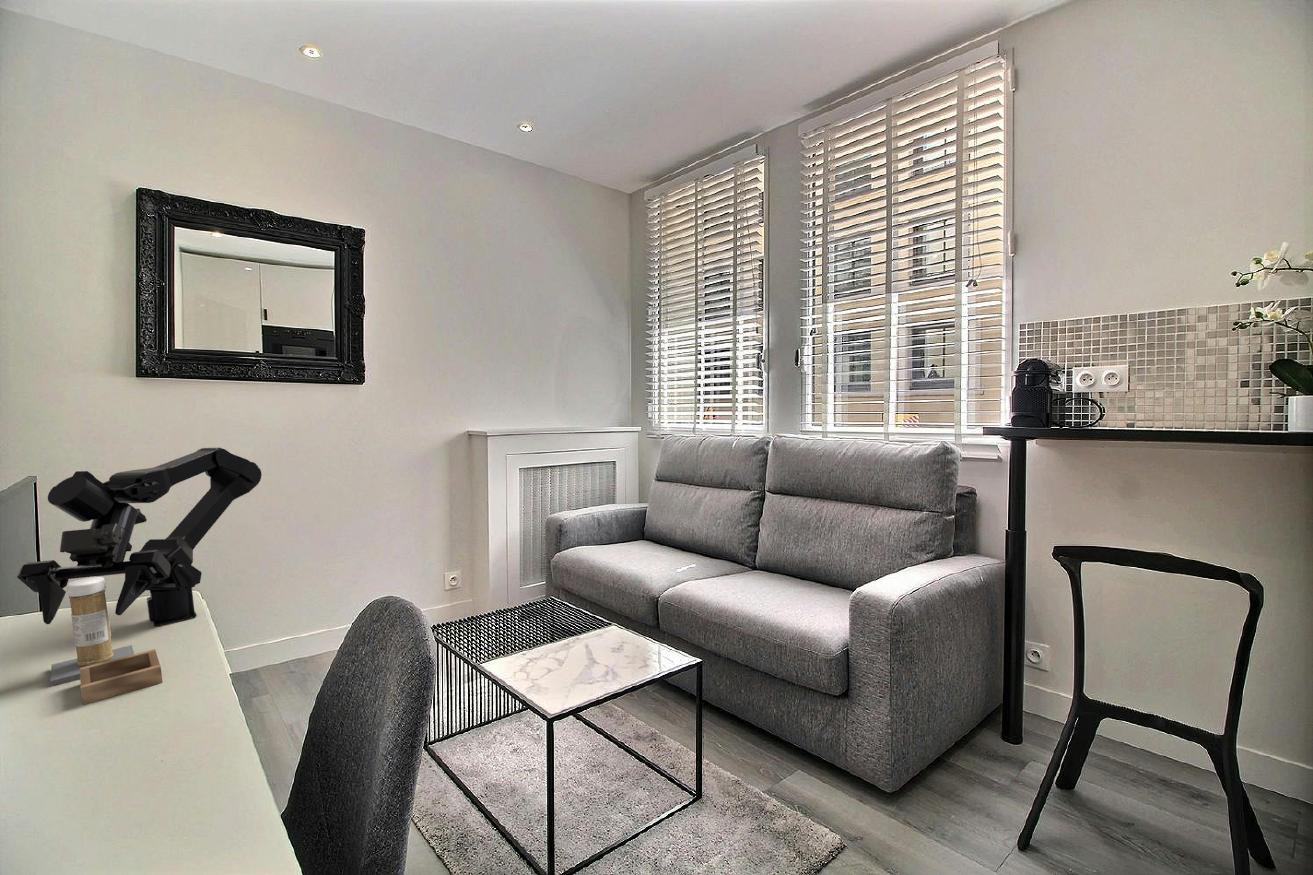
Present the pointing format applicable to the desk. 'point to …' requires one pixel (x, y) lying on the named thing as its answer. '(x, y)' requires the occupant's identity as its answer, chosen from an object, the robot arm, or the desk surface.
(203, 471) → the robot arm
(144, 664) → the collar
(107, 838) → the desk surface
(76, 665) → the pad
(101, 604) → the sprinkles bottle
